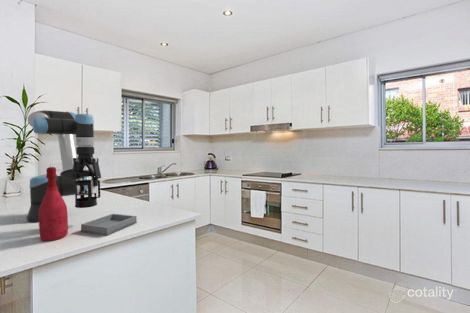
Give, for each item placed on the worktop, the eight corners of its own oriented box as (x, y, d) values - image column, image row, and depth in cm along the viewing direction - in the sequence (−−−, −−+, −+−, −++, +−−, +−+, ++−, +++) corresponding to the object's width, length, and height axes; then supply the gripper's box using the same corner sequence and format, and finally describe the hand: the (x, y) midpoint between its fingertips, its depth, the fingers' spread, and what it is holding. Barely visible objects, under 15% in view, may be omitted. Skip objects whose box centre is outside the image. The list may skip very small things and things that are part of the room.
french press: (78, 209, 113) (76, 159, 112) (70, 206, 119) (68, 158, 118) (104, 204, 123) (103, 158, 121) (95, 201, 129) (94, 157, 127)
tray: (81, 232, 111) (81, 224, 110) (113, 220, 128) (112, 213, 127) (107, 235, 106) (106, 227, 106) (136, 223, 123) (136, 216, 123)
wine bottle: (49, 233, 109) (46, 166, 107) (73, 232, 110) (70, 165, 108) (33, 242, 99) (29, 168, 98) (59, 241, 100) (56, 168, 98)
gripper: (61, 146, 119) (63, 192, 121) (95, 146, 112) (97, 195, 114) (76, 146, 126) (77, 189, 128) (108, 146, 119) (110, 192, 121)
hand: (86, 192), depth 121 cm, fingers closed on french press, 9 cm apart
